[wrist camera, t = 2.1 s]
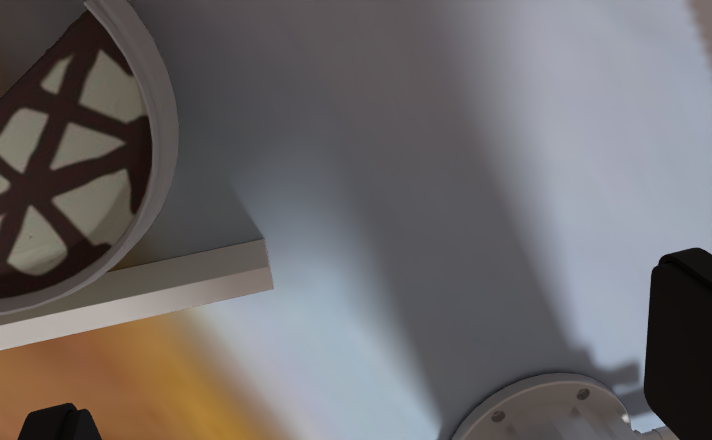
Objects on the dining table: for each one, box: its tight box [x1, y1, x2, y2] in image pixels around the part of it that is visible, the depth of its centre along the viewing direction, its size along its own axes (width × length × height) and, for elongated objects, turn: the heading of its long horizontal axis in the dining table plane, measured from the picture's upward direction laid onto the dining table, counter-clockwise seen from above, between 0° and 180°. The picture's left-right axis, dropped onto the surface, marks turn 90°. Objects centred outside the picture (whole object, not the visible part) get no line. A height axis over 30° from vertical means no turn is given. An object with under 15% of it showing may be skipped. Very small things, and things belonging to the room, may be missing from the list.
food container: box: [0, 0, 179, 315], centre depth 23 cm, size 12×6×10 cm, turn 130°
